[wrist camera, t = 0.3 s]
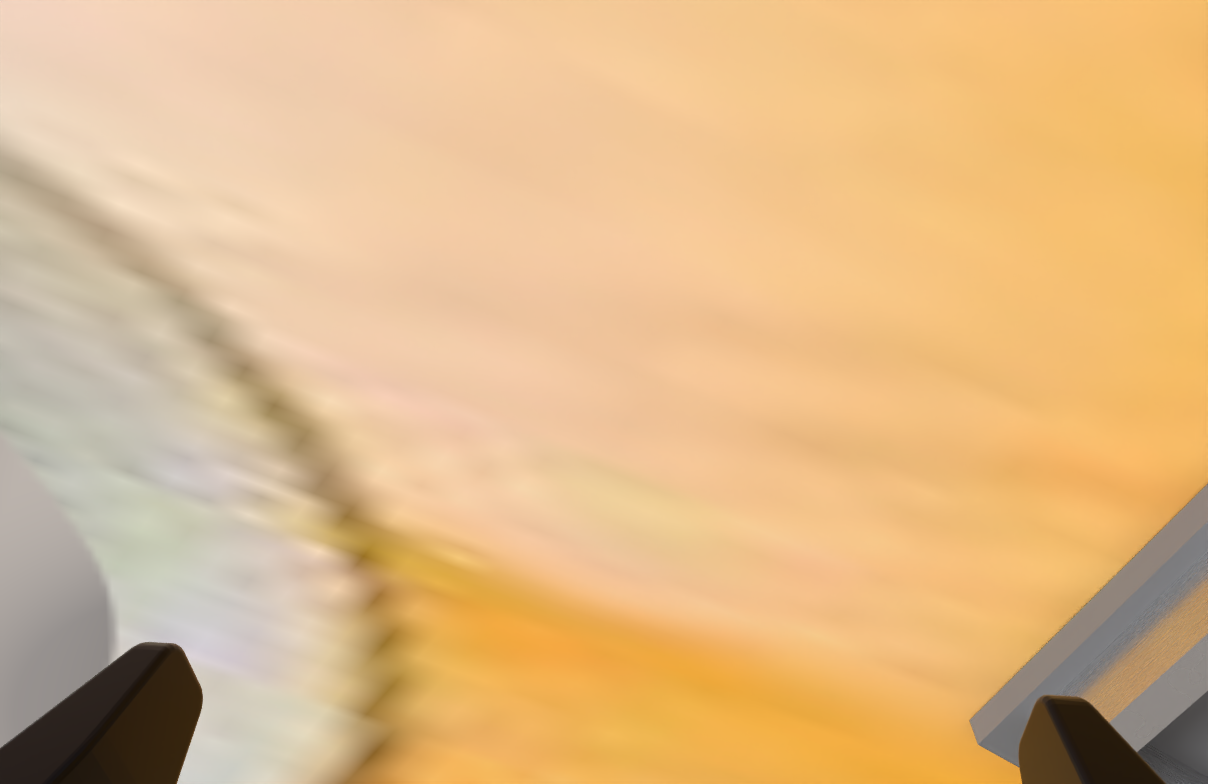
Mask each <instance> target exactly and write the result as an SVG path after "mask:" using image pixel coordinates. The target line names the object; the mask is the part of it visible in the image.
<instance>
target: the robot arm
mask: <svg viewBox="0 0 1208 784" xmlns="http://www.w3.org/2000/svg"><path fill="white" fill-rule="evenodd" d="M202 703H203V694H202V689H201V686H200V684H199V682H198V680H197V677H196V675H195V673H194V671H193V669H192V667H191V665H190V663H189V661H188V659H187V657H186V655H185V653H184V651H183V649H182V648H181V647H180V646H178V645H177V644H173V643H157V642H145V643H140V644H138V645H136V646H134V647H133V648H131V649H130V650H128V651H127V652H126V653H124V654H123V655H122V656H120V657H119V658H118V659H117V660H115V661H114V662H113V663H111V664H110V665H109V666H107V667H106V668H105V669H103V670H102V671H101V672H99V673H98V674H97V675H95V676H94V677H93V678H92V679H90V680H89V681H88V682H86V683H85V684H84V685H82V686H81V687H80V688H78V689H77V690H76V691H74V692H73V693H72V694H70V695H69V696H68V697H67V698H65V699H64V700H63V701H61V702H60V703H59V704H57V705H56V706H55V707H53V708H52V709H51V710H50V711H48V712H47V713H46V714H44V715H43V716H42V717H40V718H39V719H38V720H36V721H35V722H34V723H32V724H31V725H30V726H28V727H27V728H26V729H25V730H23V731H22V732H21V733H19V734H18V735H17V736H15V737H14V738H13V739H11V740H10V741H9V742H7V743H6V744H5V745H3V746H2V747H1V748H0V784H177V781H178V778H179V775H180V772H181V769H182V766H183V763H184V760H185V757H186V754H187V751H188V749H189V746H190V743H191V740H192V737H193V734H194V731H195V728H196V725H197V722H198V719H199V716H200V713H201V709H202ZM1018 757H1019V767H1020V773H1021V779H1022V784H1166V783H1165V782H1164V781H1163V780H1162V778H1161V777H1160V776H1159V775H1158V774H1157V773H1156V772H1155V771H1154V770H1153V769H1152V768H1151V767H1150V766H1149V765H1148V764H1147V763H1146V761H1145V760H1144V759H1143V758H1142V757H1141V756H1140V755H1139V754H1138V753H1137V752H1136V751H1135V750H1134V749H1133V748H1132V747H1131V745H1130V744H1129V743H1128V742H1127V741H1126V740H1125V739H1124V738H1123V737H1122V736H1121V735H1120V734H1119V733H1118V732H1117V731H1116V729H1115V728H1114V727H1113V726H1112V725H1111V724H1110V723H1109V722H1108V721H1107V720H1106V719H1105V718H1104V717H1103V716H1102V715H1101V714H1100V712H1099V711H1098V710H1097V709H1096V708H1095V707H1094V706H1093V705H1092V704H1091V703H1089V702H1088V701H1086V700H1085V699H1083V698H1080V697H1076V696H1060V695H1043V696H1041V697H1040V698H1038V699H1037V701H1036V702H1035V704H1034V707H1033V709H1032V712H1031V715H1030V717H1029V720H1028V722H1027V725H1026V727H1025V730H1024V732H1023V735H1022V737H1021V740H1020V744H1019V753H1018Z"/></svg>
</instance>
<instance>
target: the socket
mask: <svg viewBox="0 0 1208 784" xmlns="http://www.w3.org/2000/svg"><path fill="white" fill-rule="evenodd" d="M1043 695H1060V696H1076V697H1080V698H1083V699H1085V700H1086V701H1088V702H1089V703H1091V704H1092V705H1093V706H1094V707H1095V708H1096V709H1097V710H1098V711H1099V712H1100V714H1101V715H1102V716H1103V717H1104V718H1105V719H1106V720H1107V721H1108V722H1109V723H1110V724H1111V725H1112V726H1113V727H1114V728H1115V729H1116V731H1117V732H1118V733H1119V734H1120V735H1121V736H1122V737H1123V738H1124V739H1125V740H1126V741H1127V742H1128V743H1129V744H1130V745H1131V747H1132V748H1133V749H1134V750H1135V751H1136V752H1137V753H1138V754H1139V755H1140V756H1141V757H1142V758H1143V759H1144V760H1145V761H1146V763H1147V764H1148V765H1149V766H1150V767H1151V768H1152V769H1153V770H1154V771H1155V772H1156V773H1157V774H1158V775H1159V776H1160V777H1161V778H1162V780H1163V781H1164V782H1165V783H1166V784H1208V484H1207V485H1206V486H1205V487H1204V488H1203V489H1202V490H1201V491H1200V492H1199V493H1198V494H1197V495H1196V496H1195V497H1194V498H1193V499H1192V500H1191V501H1190V502H1189V503H1188V504H1187V505H1186V506H1185V507H1184V508H1183V509H1182V510H1181V511H1180V512H1179V513H1178V514H1177V515H1176V516H1175V517H1174V518H1173V519H1172V520H1171V521H1170V522H1169V523H1168V524H1167V525H1166V526H1165V527H1164V528H1163V529H1162V530H1161V531H1160V532H1159V533H1158V534H1157V535H1156V536H1155V537H1154V538H1153V539H1152V540H1151V541H1150V542H1149V543H1148V544H1147V545H1146V546H1145V547H1144V548H1143V549H1142V550H1141V551H1140V552H1139V553H1138V554H1137V555H1136V556H1135V557H1134V558H1133V559H1132V560H1131V561H1130V562H1129V563H1128V564H1127V565H1126V566H1125V567H1123V568H1122V569H1121V570H1120V571H1119V572H1118V573H1117V574H1116V575H1115V576H1114V577H1113V578H1112V579H1111V580H1110V581H1109V582H1108V583H1107V584H1106V585H1105V586H1104V587H1103V588H1102V589H1101V590H1100V591H1099V592H1098V593H1097V594H1096V595H1095V596H1094V597H1093V598H1092V599H1091V600H1090V601H1089V602H1088V603H1087V604H1086V605H1085V606H1084V607H1083V608H1082V609H1081V610H1080V611H1079V612H1078V613H1077V614H1076V615H1075V616H1074V617H1073V618H1072V619H1071V620H1070V621H1069V622H1068V623H1067V624H1066V625H1065V626H1064V627H1063V628H1062V629H1061V630H1060V631H1059V632H1058V633H1057V634H1056V635H1055V636H1054V637H1053V638H1052V639H1051V640H1050V641H1049V642H1048V643H1047V644H1046V645H1045V646H1044V647H1043V648H1042V649H1041V650H1040V651H1039V652H1038V653H1037V654H1036V655H1035V656H1034V657H1033V658H1032V659H1031V660H1030V661H1029V662H1028V663H1027V664H1026V665H1025V666H1024V667H1023V668H1022V669H1021V670H1020V671H1019V672H1018V673H1017V674H1016V675H1015V676H1014V677H1013V678H1012V679H1011V680H1010V681H1009V682H1008V683H1007V684H1006V685H1005V686H1004V687H1003V688H1002V689H1001V690H1000V691H999V692H998V693H997V694H996V695H995V696H994V697H993V698H992V699H991V700H990V701H989V702H988V703H987V704H986V705H985V706H984V707H983V708H982V709H981V710H979V711H978V712H977V713H976V714H975V715H974V716H973V717H972V718H971V719H970V723H971V726H972V729H973V732H974V735H975V738H976V740H977V743H978V745H980V746H982V747H983V748H985V749H987V750H989V751H991V752H992V753H994V754H996V755H998V756H1000V757H1001V758H1003V759H1005V760H1007V761H1009V762H1011V763H1012V764H1014V765H1016V766H1018V767H1019V757H1018V753H1019V744H1020V740H1021V737H1022V735H1023V732H1024V730H1025V727H1026V725H1027V722H1028V720H1029V717H1030V715H1031V712H1032V709H1033V707H1034V704H1035V702H1036V701H1037V699H1038V698H1040V697H1041V696H1043Z"/></svg>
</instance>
